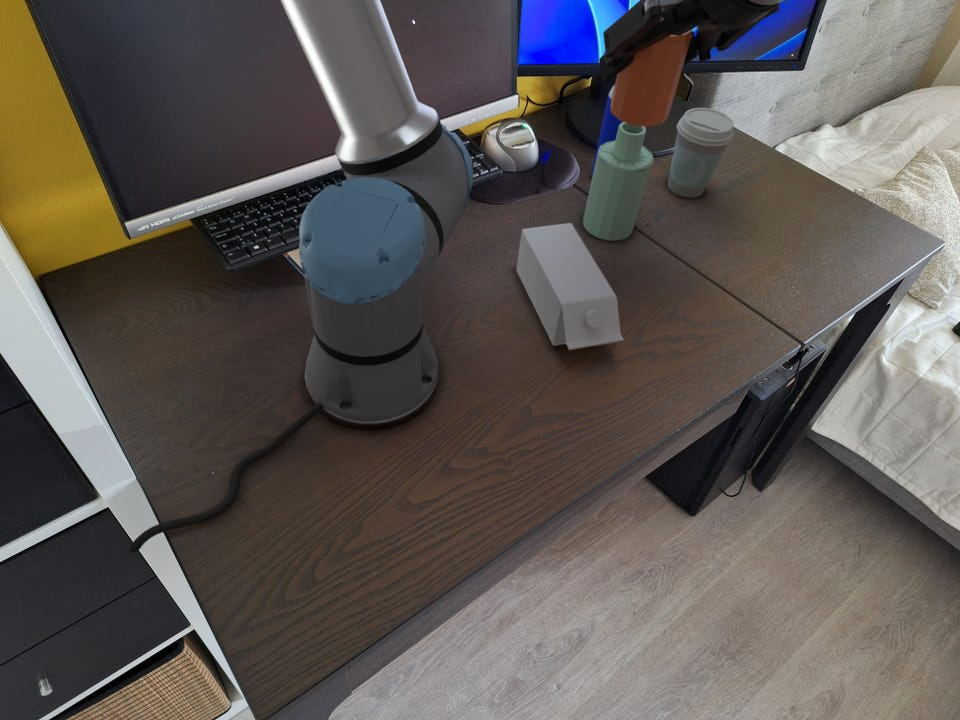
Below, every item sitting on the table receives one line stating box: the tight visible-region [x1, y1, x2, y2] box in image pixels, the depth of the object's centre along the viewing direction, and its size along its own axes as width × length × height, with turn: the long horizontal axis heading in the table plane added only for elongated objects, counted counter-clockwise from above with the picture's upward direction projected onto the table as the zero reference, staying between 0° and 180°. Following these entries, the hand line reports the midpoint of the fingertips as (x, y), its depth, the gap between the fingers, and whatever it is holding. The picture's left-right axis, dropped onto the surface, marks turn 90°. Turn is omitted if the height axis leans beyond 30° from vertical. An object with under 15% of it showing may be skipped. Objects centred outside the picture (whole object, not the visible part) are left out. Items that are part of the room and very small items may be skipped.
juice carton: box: [515, 222, 625, 351], centre depth 85 cm, size 7×7×19 cm
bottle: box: [582, 122, 655, 242], centre depth 96 cm, size 8×8×16 cm
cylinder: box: [611, 22, 694, 128], centre depth 74 cm, size 7×7×10 cm
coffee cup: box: [667, 107, 735, 199], centre depth 106 cm, size 8×8×12 cm
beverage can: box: [591, 84, 623, 176], centre depth 105 cm, size 5×5×15 cm
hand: (633, 68), depth 78 cm, fingers closed on cylinder, 7 cm apart
